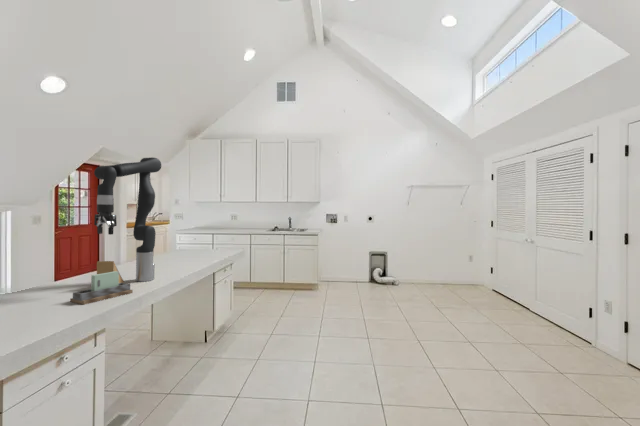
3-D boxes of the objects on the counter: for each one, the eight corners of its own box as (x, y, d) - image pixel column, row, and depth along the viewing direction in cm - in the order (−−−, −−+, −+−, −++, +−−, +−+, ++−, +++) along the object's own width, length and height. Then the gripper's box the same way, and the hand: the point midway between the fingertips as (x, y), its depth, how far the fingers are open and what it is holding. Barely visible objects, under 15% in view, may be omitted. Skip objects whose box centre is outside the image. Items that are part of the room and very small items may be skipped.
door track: (119, 290, 176) (119, 282, 176) (132, 292, 172) (132, 284, 172) (70, 301, 154) (70, 292, 154) (84, 304, 150) (84, 294, 150)
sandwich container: (125, 282, 197) (125, 257, 197) (113, 288, 182) (114, 261, 181) (109, 282, 195) (109, 257, 195) (96, 288, 180) (96, 261, 180)
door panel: (115, 290, 170) (115, 271, 170) (118, 291, 169) (119, 271, 169) (91, 296, 159) (91, 275, 159) (94, 296, 158) (95, 275, 158)
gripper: (121, 204, 178) (121, 234, 178) (103, 203, 184) (103, 233, 184) (107, 203, 171) (107, 235, 171) (89, 203, 177) (89, 234, 177)
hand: (105, 234), depth 178 cm, fingers open, 8 cm apart
